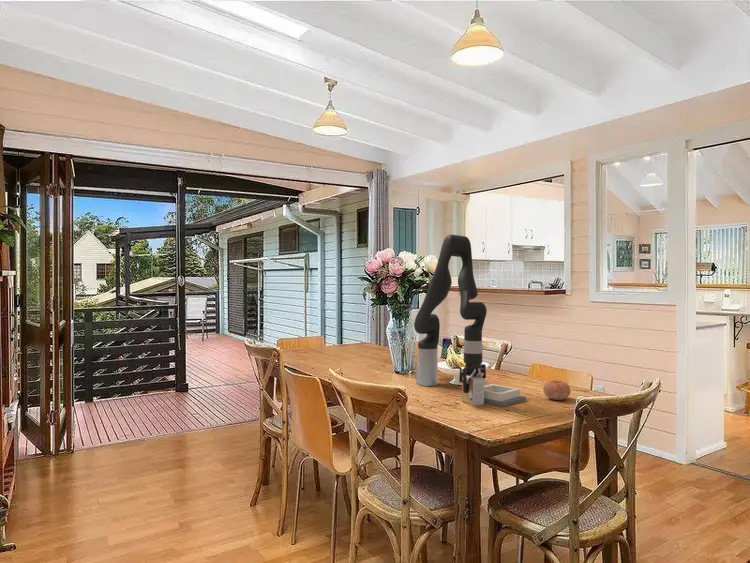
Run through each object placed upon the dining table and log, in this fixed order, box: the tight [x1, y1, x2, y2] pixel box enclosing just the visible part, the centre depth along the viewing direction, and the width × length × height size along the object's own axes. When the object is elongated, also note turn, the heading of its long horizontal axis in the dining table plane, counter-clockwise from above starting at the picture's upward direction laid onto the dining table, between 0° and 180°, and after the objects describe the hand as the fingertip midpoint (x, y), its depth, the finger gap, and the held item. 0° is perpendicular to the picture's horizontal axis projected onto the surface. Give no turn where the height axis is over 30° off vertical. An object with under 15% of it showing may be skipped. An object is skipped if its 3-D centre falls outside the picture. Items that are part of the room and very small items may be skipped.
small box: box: [461, 376, 485, 406], centre depth 212 cm, size 8×6×10 cm
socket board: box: [484, 383, 527, 408], centre depth 217 cm, size 18×16×4 cm
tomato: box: [542, 380, 572, 401], centre depth 219 cm, size 11×11×8 cm
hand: (472, 391), depth 212 cm, fingers open, 8 cm apart
